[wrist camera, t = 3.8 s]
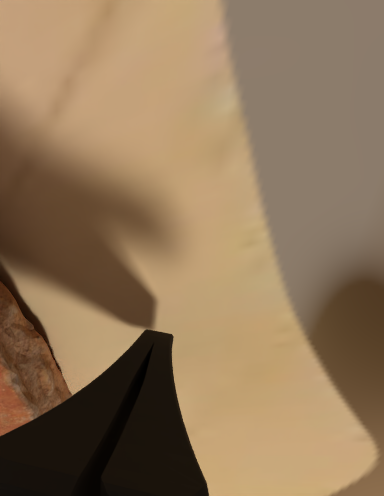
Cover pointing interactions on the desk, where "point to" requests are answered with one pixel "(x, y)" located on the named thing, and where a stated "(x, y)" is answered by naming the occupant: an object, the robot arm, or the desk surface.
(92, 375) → the desk surface
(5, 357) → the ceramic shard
